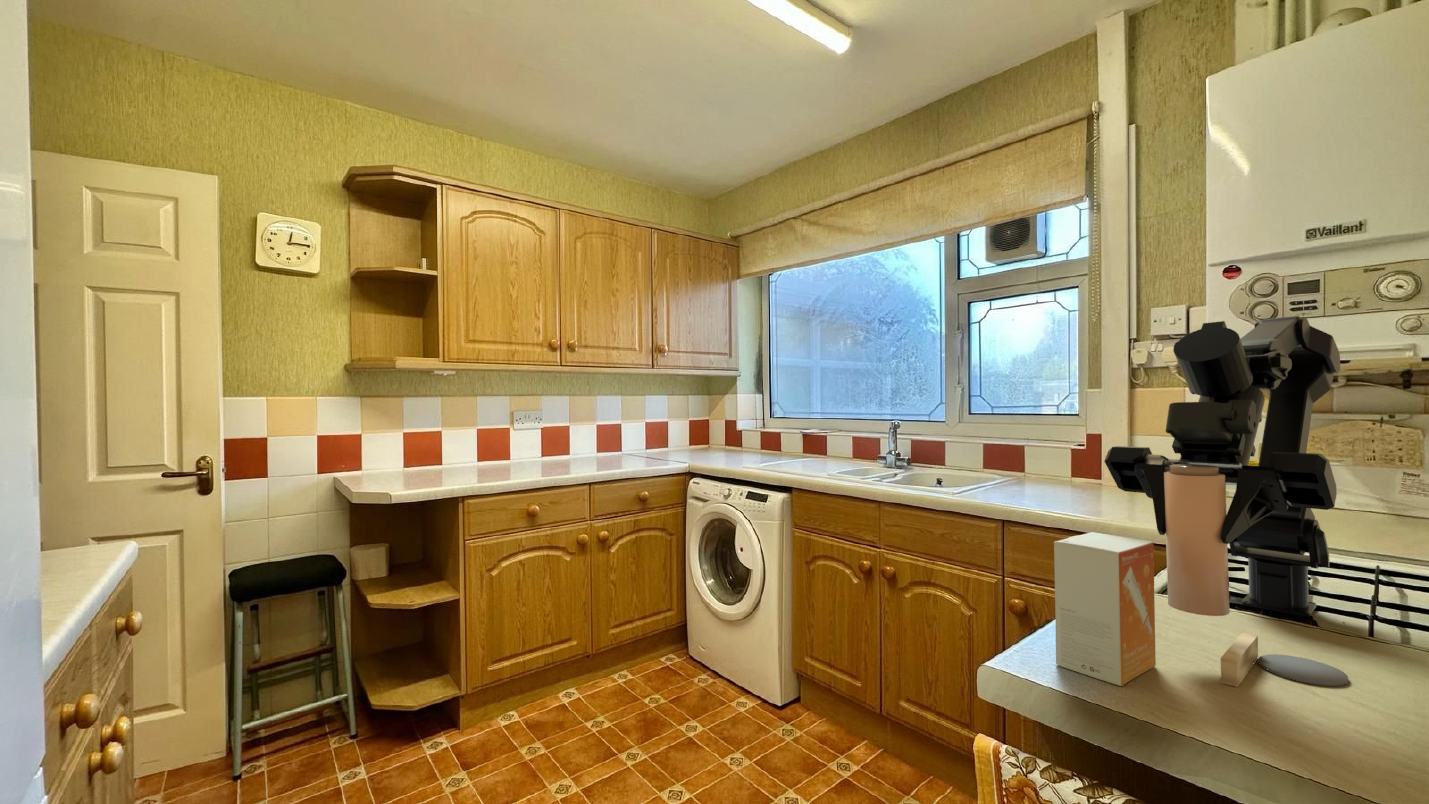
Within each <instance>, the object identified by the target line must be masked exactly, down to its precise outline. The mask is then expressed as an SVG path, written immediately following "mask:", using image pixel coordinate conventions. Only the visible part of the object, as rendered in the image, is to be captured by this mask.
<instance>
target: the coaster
mask: <svg viewBox="0 0 1429 804" xmlns="http://www.w3.org/2000/svg"><path fill="white" fill-rule="evenodd" d="M1257 661H1259V662H1258V664H1259V663H1260V665H1261V666H1262V667H1263V668H1265V669H1268V670H1269V671H1271V672H1273V673H1275V674H1274V675H1276V674H1277V675H1276V676H1278V675H1280V676H1279V677H1281V676H1282V678H1284V677H1287V678H1290V679H1289V680H1291V679H1294V680H1296V681H1295V682H1298V681H1301V682H1300V683H1303V682H1305V683H1304V684H1308V683H1309V685H1313V684H1314V685H1316V686H1319V687H1321V686H1322V687H1323V686H1324V687H1342V686H1345V685H1344V684H1346V683H1347V682H1348V683H1349V676H1348V674H1346V673H1345V672H1344V671H1342V670H1341V669H1338V668H1337V667H1335V666H1332V665H1330V664H1326V663H1323V662H1320V661H1317V660H1313V659H1309V658H1306V657H1301V656H1294V655H1287V654H1264V655H1260V656H1258V659H1257ZM1260 665H1259V666H1260ZM1261 666H1260V667H1261ZM1262 667H1261V668H1262ZM1263 668H1262V669H1263ZM1265 669H1264V670H1265ZM1269 671H1268V672H1269ZM1271 672H1270V673H1271ZM1273 673H1272V674H1273ZM1287 678H1286V679H1287ZM1294 680H1293V681H1294ZM1297 680H1298V681H1297ZM1348 683H1347V684H1348ZM1347 684H1346V685H1347ZM1314 685H1313V686H1314Z"/></svg>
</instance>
